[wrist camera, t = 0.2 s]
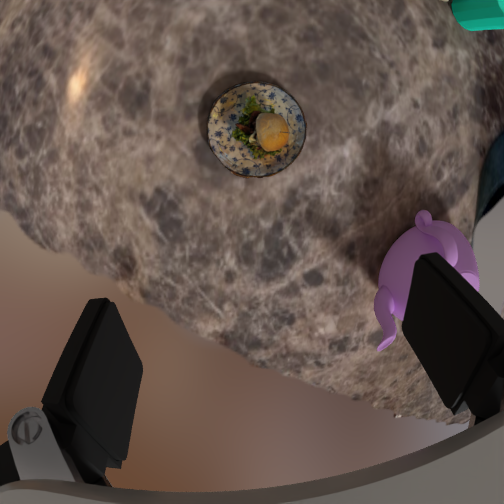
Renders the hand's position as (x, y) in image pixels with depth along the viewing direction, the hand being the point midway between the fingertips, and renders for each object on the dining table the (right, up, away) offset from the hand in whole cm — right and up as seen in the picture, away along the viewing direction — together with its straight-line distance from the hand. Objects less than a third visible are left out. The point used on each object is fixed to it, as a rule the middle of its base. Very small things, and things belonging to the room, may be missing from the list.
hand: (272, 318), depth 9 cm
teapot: (+24, 0, +38) cm, 45 cm away
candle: (+31, +38, +18) cm, 52 cm away
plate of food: (0, +17, +27) cm, 32 cm away
